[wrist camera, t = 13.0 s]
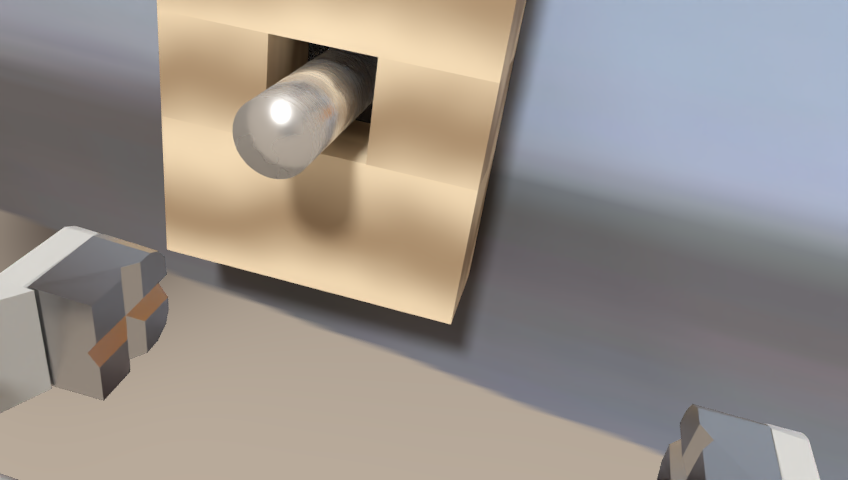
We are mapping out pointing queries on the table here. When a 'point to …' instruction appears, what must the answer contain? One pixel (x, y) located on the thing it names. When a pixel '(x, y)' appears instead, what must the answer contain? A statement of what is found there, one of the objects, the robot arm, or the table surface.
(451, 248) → the oak hole block
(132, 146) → the table surface
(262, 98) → the steel pin
